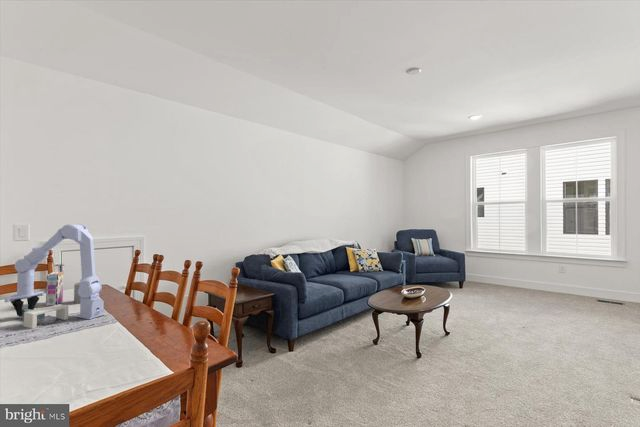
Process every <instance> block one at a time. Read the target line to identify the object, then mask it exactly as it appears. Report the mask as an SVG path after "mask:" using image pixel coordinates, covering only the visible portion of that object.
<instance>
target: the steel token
mask: <svg viewBox="0 0 640 427" xmlns="http://www.w3.org/2000/svg"><path fill="white" fill-rule="evenodd" d="M56 319H57V318H56V315H55V316H54V315H45V316H44V317H40V318H37V325H48V324H51V323H55V322H56V321H57V320H56Z"/></svg>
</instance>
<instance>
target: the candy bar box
mask: <svg viewBox="0 0 640 427" xmlns="http://www.w3.org/2000/svg"><path fill="white" fill-rule="evenodd" d="M64 272H65V271H61V270H60V271H52V272H50V273H48V274H46V295H45V307H50V306H54V305H59V304H60V303H62V302H63V299H64V298H63V297H64V295H63V293H64Z"/></svg>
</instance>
